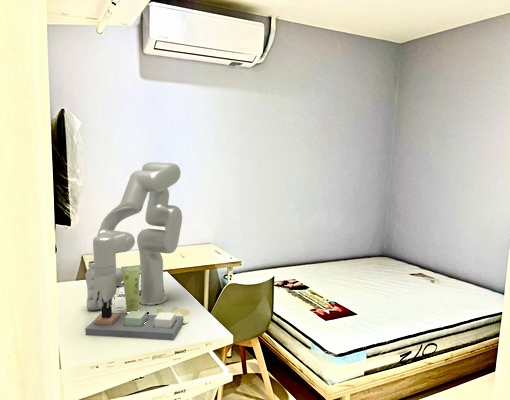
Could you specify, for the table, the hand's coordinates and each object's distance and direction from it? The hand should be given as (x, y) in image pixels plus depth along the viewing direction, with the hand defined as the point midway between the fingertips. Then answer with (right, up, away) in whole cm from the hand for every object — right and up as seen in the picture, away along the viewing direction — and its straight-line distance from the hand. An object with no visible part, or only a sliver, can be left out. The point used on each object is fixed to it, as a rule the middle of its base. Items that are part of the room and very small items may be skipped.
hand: (106, 316), depth 153 cm
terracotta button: (0, -3, +1) cm, 4 cm away
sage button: (+11, -2, 0) cm, 11 cm away
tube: (+5, -2, +14) cm, 15 cm away
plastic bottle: (-11, -2, +17) cm, 20 cm away
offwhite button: (+22, -3, -1) cm, 22 cm away
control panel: (+11, -4, 0) cm, 12 cm away
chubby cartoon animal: (-9, +2, +44) cm, 45 cm away
